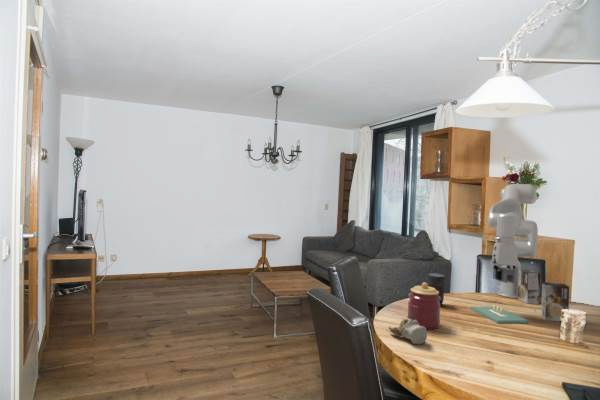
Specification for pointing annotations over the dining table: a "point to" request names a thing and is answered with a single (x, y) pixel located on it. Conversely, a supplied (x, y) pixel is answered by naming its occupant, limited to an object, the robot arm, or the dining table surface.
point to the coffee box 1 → (529, 286)
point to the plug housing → (505, 275)
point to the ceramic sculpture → (411, 331)
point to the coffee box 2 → (554, 300)
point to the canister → (424, 306)
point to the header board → (499, 314)
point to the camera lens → (437, 284)
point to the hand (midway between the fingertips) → (503, 279)
